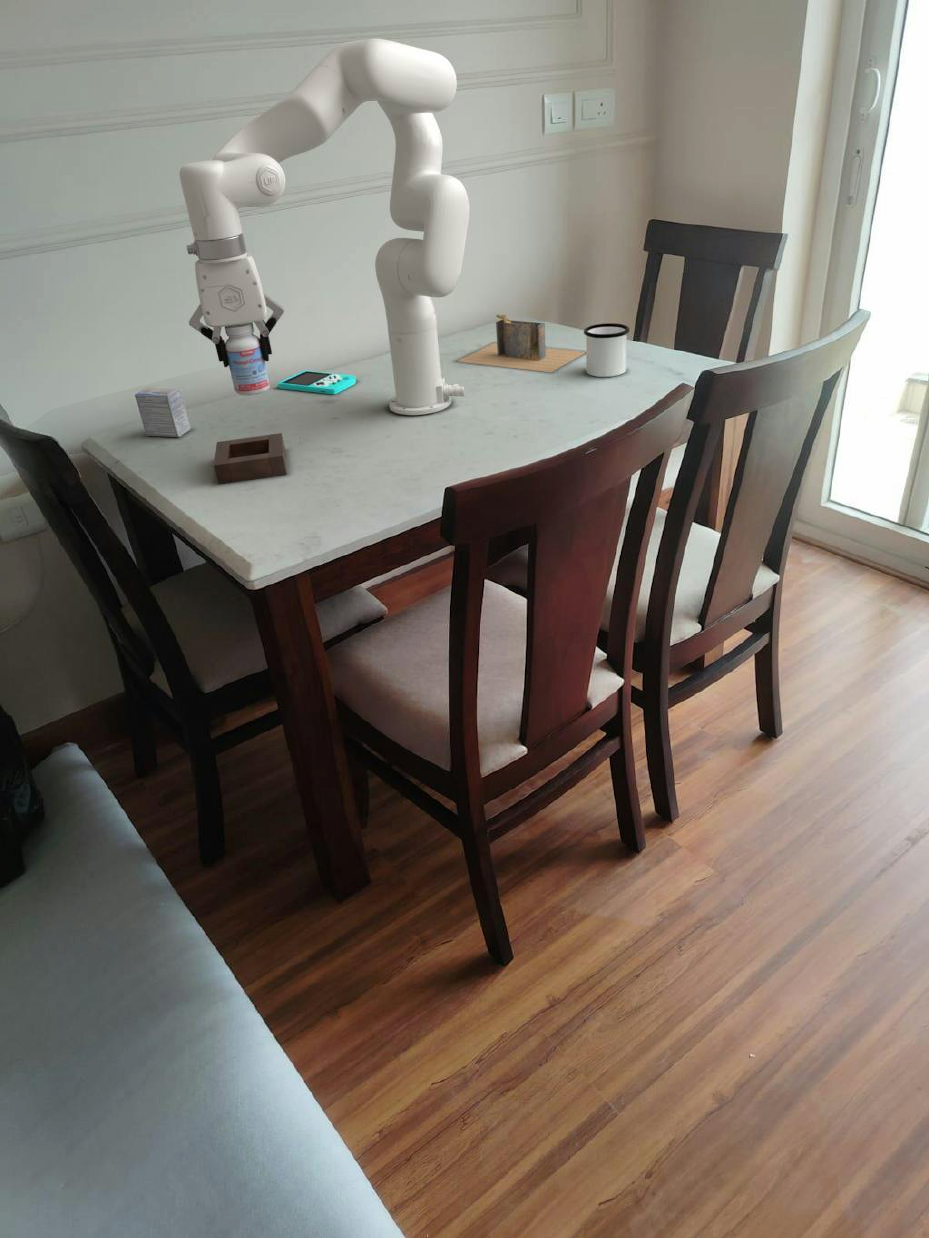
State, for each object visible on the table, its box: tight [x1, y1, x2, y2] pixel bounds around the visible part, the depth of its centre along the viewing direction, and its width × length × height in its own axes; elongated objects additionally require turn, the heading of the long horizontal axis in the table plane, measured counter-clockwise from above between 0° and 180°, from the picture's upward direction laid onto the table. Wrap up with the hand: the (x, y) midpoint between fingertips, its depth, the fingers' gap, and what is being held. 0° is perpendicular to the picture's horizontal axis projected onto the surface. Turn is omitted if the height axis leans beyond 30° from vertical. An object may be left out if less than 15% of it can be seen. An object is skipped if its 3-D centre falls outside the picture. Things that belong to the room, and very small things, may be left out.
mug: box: [583, 322, 630, 378], centre depth 187 cm, size 12×10×9 cm
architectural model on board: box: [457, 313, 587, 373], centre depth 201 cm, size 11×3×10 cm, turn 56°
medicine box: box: [134, 387, 192, 438], centre depth 175 cm, size 8×4×9 cm, turn 71°
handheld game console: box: [277, 370, 357, 395], centre depth 197 cm, size 10×16×1 cm, turn 60°
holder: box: [213, 432, 288, 485], centre depth 157 cm, size 12×12×4 cm
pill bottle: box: [224, 322, 271, 396], centre depth 149 cm, size 6×6×11 cm
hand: (246, 361), depth 149 cm, fingers closed on pill bottle, 6 cm apart
